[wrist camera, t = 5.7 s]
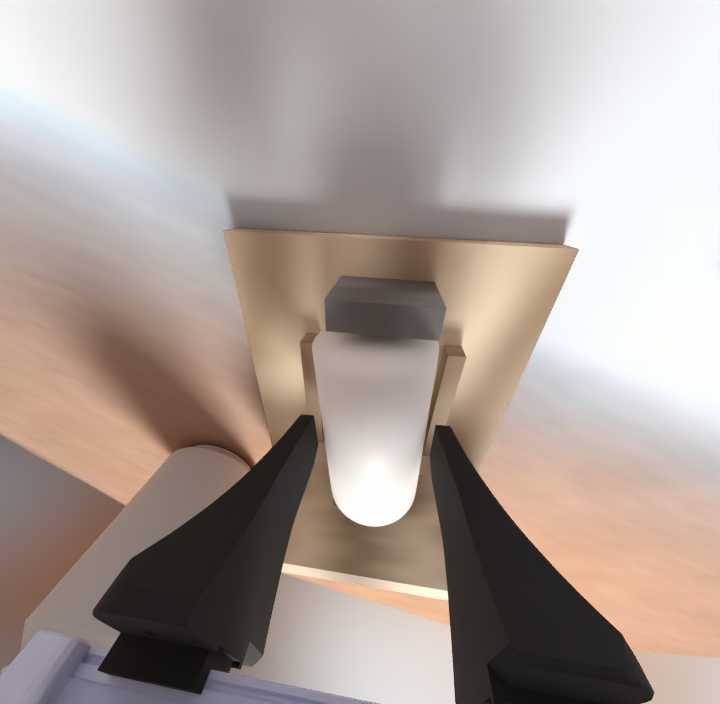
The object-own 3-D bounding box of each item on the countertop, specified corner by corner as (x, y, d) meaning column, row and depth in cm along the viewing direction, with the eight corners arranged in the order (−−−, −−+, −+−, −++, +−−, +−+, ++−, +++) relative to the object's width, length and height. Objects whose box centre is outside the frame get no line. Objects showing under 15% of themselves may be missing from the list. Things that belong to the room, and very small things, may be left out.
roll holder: (564, 244, 10) (791, 310, 4) (465, 478, 19) (497, 608, 13) (236, 228, 12) (65, 261, 6) (281, 454, 20) (233, 563, 14)
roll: (431, 318, 12) (450, 383, 8) (413, 448, 16) (419, 532, 12) (328, 315, 12) (293, 374, 8) (339, 441, 17) (321, 520, 13)
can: (158, 441, 21) (-63, 668, 11) (235, 434, 19) (57, 696, 9) (207, 493, 25) (74, 700, 15) (275, 491, 23) (179, 725, 13)
